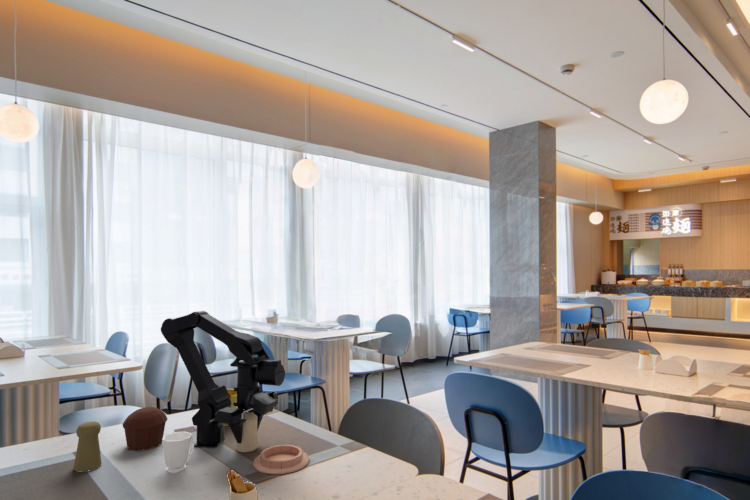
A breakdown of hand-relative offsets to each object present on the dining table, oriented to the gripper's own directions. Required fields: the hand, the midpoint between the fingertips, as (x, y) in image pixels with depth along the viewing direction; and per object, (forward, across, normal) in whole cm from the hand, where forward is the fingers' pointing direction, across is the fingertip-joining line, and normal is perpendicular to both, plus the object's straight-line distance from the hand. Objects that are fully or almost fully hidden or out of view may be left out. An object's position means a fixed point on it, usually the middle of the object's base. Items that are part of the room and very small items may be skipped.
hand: (246, 439), depth 124 cm
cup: (+3, -16, +7) cm, 18 cm away
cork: (+3, -27, +28) cm, 39 cm away
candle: (+3, 0, 0) cm, 3 cm away
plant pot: (+3, +12, +22) cm, 25 cm away
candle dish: (+2, -3, -14) cm, 15 cm away
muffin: (+3, -11, +28) cm, 30 cm away
